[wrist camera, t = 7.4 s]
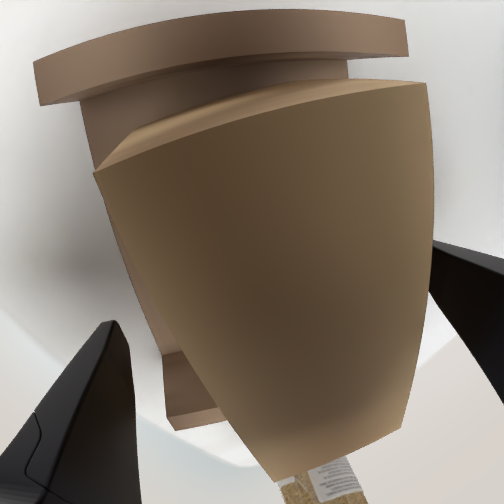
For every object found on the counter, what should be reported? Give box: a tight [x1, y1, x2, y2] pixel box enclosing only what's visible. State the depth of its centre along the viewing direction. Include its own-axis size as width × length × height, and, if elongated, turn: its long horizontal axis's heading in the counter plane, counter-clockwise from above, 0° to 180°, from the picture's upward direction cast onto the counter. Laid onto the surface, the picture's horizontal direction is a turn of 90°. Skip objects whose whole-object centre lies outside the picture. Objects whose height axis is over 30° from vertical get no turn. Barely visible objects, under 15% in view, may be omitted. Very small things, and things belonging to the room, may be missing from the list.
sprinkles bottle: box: [277, 456, 368, 504], centre depth 15 cm, size 5×4×14 cm
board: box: [93, 79, 434, 482], centre depth 8 cm, size 4×10×5 cm, turn 15°
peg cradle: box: [33, 9, 409, 431], centre depth 11 cm, size 10×14×4 cm
